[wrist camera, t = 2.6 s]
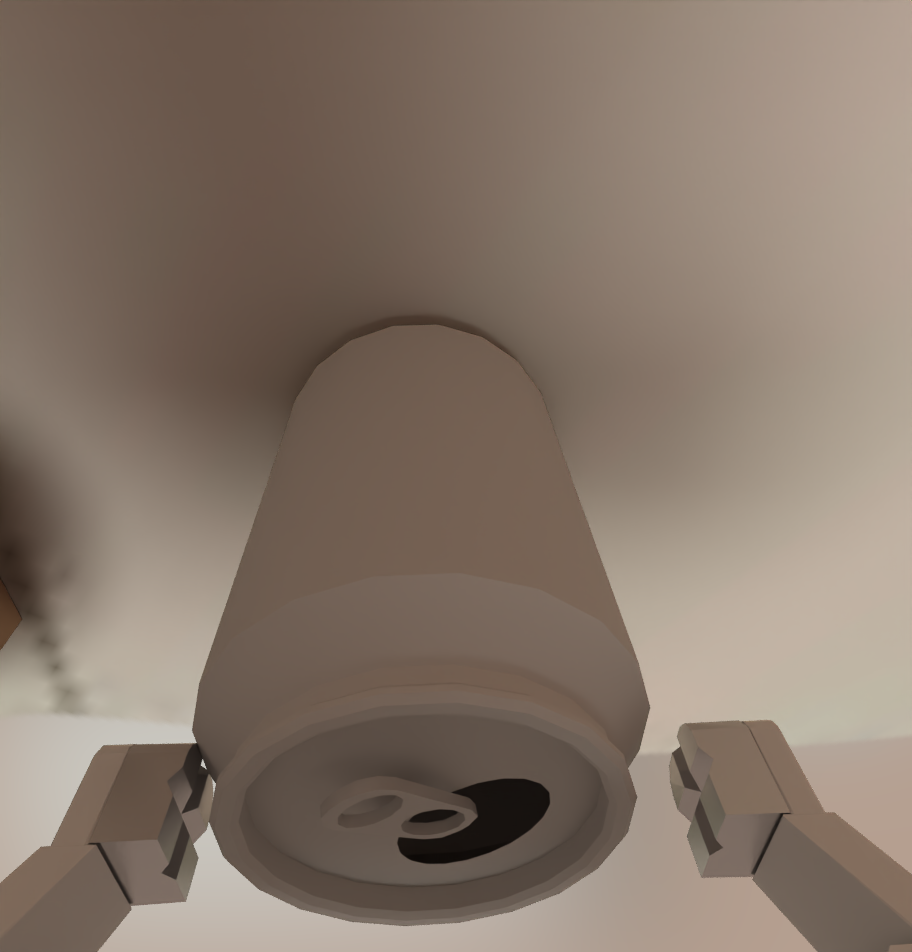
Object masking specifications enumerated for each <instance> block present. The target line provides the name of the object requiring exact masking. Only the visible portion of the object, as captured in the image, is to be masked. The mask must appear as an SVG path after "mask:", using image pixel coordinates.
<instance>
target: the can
mask: <svg viewBox="0 0 912 952" xmlns="http://www.w3.org/2000/svg"><path fill="white" fill-rule="evenodd" d="M649 710H650V705H649V701H648V698H647V694H646V690H645V686H644V682H643V678H642V675H641V671H640V667H639V663H638V660H637V658H636V655H635V652H634V649H633V646H632V644H631V641H630V638H629V635H628V633H627V630H626V627H625V624H624V622H623V619H622V616H621V613H620V611H619V608H618V605H617V602H616V600H615V597H614V594H613V591H612V589H611V586H610V583H609V580H608V578H607V575H606V572H605V569H604V566H603V564H602V561H601V558H600V555H599V553H598V550H597V547H596V544H595V542H594V539H593V536H592V533H591V531H590V528H589V525H588V522H587V520H586V517H585V514H584V511H583V509H582V506H581V503H580V500H579V497H578V495H577V492H576V489H575V486H574V484H573V481H572V478H571V475H570V473H569V470H568V467H567V464H566V462H565V459H564V456H563V453H562V451H561V448H560V445H559V442H558V440H557V437H556V434H555V431H554V429H553V426H552V423H551V420H550V417H549V415H548V412H547V409H546V406H545V404H544V401H543V398H542V395H541V393H540V391H539V390H538V388H537V387H536V386H535V384H534V383H533V382H532V380H531V379H530V377H529V376H528V375H527V373H526V372H525V371H524V369H523V368H522V367H521V365H520V364H519V363H518V361H517V360H515V359H514V358H512V357H511V356H509V355H508V354H506V353H505V352H503V351H502V350H501V349H499V348H498V347H496V346H495V345H493V344H492V343H490V342H489V341H487V340H486V339H484V338H483V337H480V336H477V335H473V334H470V333H466V332H463V331H459V330H456V329H452V328H449V327H445V326H442V325H403V326H391V327H388V328H385V329H382V330H379V331H376V332H373V333H370V334H367V335H365V336H362V337H359V338H356V339H353V340H350V341H349V342H348V343H346V344H345V345H344V346H342V347H341V348H340V349H338V350H337V351H336V352H335V353H333V354H332V355H331V356H329V357H328V358H327V359H325V360H324V361H323V362H322V363H320V364H319V365H318V366H317V367H316V368H315V370H314V371H313V373H312V374H311V376H310V377H309V379H308V381H307V382H306V384H305V385H304V387H303V388H302V390H301V392H300V393H299V395H298V396H297V398H296V399H295V402H294V405H293V408H292V411H291V414H290V417H289V420H288V423H287V426H286V429H285V432H284V435H283V438H282V441H281V444H280V447H279V450H278V453H277V456H276V459H275V461H274V464H273V467H272V470H271V473H270V476H269V479H268V482H267V485H266V488H265V491H264V494H263V497H262V500H261V503H260V506H259V509H258V512H257V515H256V518H255V521H254V523H253V526H252V529H251V532H250V535H249V538H248V541H247V544H246V547H245V550H244V553H243V556H242V559H241V562H240V565H239V568H238V571H237V574H236V577H235V580H234V583H233V585H232V588H231V591H230V594H229V597H228V600H227V603H226V606H225V609H224V612H223V615H222V618H221V621H220V624H219V627H218V630H217V633H216V636H215V639H214V642H213V645H212V648H211V650H210V653H209V656H208V659H207V662H206V665H205V668H204V671H203V674H202V677H201V680H200V683H199V689H198V695H197V702H196V708H195V715H194V722H193V728H192V731H193V734H194V737H195V739H196V742H197V745H198V747H199V750H200V752H201V755H202V758H203V760H204V763H205V766H206V768H207V771H208V773H209V775H210V776H211V777H212V779H213V780H214V781H215V783H216V787H215V792H214V797H213V802H212V807H211V812H210V817H209V823H210V825H211V827H212V830H213V832H214V835H215V837H216V840H217V842H218V845H219V847H220V850H221V852H222V855H223V856H224V858H225V859H227V861H228V862H229V863H230V864H231V865H232V866H234V867H235V868H236V869H237V870H238V871H239V872H240V873H241V874H242V875H243V876H245V877H246V878H247V879H248V880H249V881H250V882H251V883H252V884H253V885H255V886H256V887H257V888H258V889H259V890H261V891H264V892H266V893H268V894H270V895H272V896H274V897H276V898H278V899H280V900H282V901H285V902H287V903H289V904H291V905H293V906H295V907H297V908H299V909H302V910H306V911H310V912H314V913H318V914H322V915H326V916H330V917H334V918H338V919H342V920H346V921H351V922H362V923H374V924H386V925H399V926H412V925H413V926H414V925H430V924H445V923H460V922H465V921H470V920H475V919H479V918H484V917H489V916H494V915H498V914H503V913H508V912H513V911H515V910H517V909H520V908H523V907H525V906H528V905H531V904H533V903H536V902H538V901H541V900H544V899H546V898H549V897H551V896H554V895H556V894H559V893H561V892H562V891H564V890H565V889H567V888H568V887H570V886H572V885H573V884H575V883H576V882H578V881H579V880H581V879H582V878H584V877H585V876H587V875H588V874H590V873H592V872H593V871H595V870H596V869H598V868H599V866H600V865H601V864H602V863H603V861H604V860H605V859H606V858H607V857H608V856H609V854H610V853H611V852H612V851H613V850H614V849H615V847H616V846H617V845H618V844H619V843H620V841H621V840H622V839H623V838H624V837H625V835H626V834H627V832H628V829H629V826H630V822H631V818H632V814H633V810H634V807H635V803H636V799H637V795H636V792H635V789H634V786H633V782H632V779H631V776H630V773H629V770H628V767H629V766H630V764H631V763H632V761H633V759H634V758H635V756H636V755H637V753H638V751H639V750H640V746H641V742H642V738H643V734H644V730H645V726H646V722H647V718H648V714H649Z"/></svg>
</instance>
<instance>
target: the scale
mask: <svg viewBox="0 0 912 952" xmlns="http://www.w3.org/2000/svg"><path fill="white" fill-rule="evenodd" d="M21 620H22V619H21V617H20V615H19V613H18V611H17V609H16V607H15V605H14V603H13V601H12V600H11V598H10V596H9V594H8V592H7V590H6V588H5V586H4V584H3V583H2V581H1V579H0V650H1V649H2V648H3V646H4V645H5V643H6V642H7V640H8V639H9V637H10V636H11V634H12V633H13V632H14V630H15V629H16V627H17V626H18V624H19V623H20V621H21Z"/></svg>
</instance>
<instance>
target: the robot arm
mask: <svg viewBox="0 0 912 952" xmlns="http://www.w3.org/2000/svg"><path fill="white" fill-rule="evenodd" d="M677 738H678V741H679V744H680V747H679V748H678V749H677V750H675V751H674V752H673V753H672V756H671V761H670V765H669V770H670V783H671V788H672V792H673V796H674V800H675V803H676V806H677V809H678V810H679V811H680V812H681V813H682V814H683V815H684V816H685V817H686V818H687V819H688V820H690V822H691V825H690V828H689V832H688V834H687V838H688V841H689V844H690V847H691V850H692V852H693V855H694V858H695V861H696V864H697V867H698V869H699V872H700V875H701V877H702V878H703V877H704V878H705V877H753V881H754V882H755V883H756V884H757V885H758V886H759V887H760V889H761V890H762V891H763V892H764V893H765V894H766V895H767V896H768V897H769V898H770V900H771V901H772V902H773V903H774V904H775V905H776V906H777V907H778V908H779V910H780V911H781V912H782V913H783V914H784V915H785V916H786V917H787V918H788V919H789V921H790V922H791V923H792V924H793V925H794V926H795V927H796V928H797V929H798V931H799V932H800V933H801V934H802V935H803V936H804V937H805V938H806V939H807V940H808V942H809V943H810V944H811V945H812V946H813V947H814V948H815V949H816V950H817V951H818V952H912V874H911V873H909V872H908V871H907V870H905V869H904V868H903V867H902V866H901V865H899V864H898V863H897V862H896V861H894V860H893V859H892V858H891V857H889V856H888V855H887V854H886V853H884V852H883V851H882V850H881V849H879V848H878V847H877V846H876V845H874V844H873V843H872V842H871V841H869V840H868V839H867V838H866V837H864V836H863V835H862V834H861V833H859V832H858V831H857V830H856V829H854V828H853V827H852V826H851V825H849V824H848V823H847V822H846V821H844V820H843V819H842V818H841V817H839V816H838V815H837V814H836V813H833V812H832V813H831V812H830V813H829V812H828V813H827V812H825V811H824V809H823V807H822V806H821V804H820V802H819V800H818V798H817V797H816V795H815V793H814V791H813V789H812V787H811V785H810V784H809V782H808V780H807V778H806V776H805V775H804V773H803V771H802V769H801V767H800V765H799V764H798V762H797V760H796V758H795V756H794V754H793V753H792V751H791V749H790V747H789V745H788V743H787V742H786V740H785V738H784V736H783V734H782V732H781V731H780V729H779V727H778V726H777V725H776V724H775V723H774V722H773V721H771V720H756V721H739V720H738V721H720V722H702V723H684V724H683V725H682V726H681V727H680V728H679V731H678V735H677ZM202 759H203V758H202V755H201V752H200V750H199V747H198V745H197V743H178V744H128V745H104V746H102V747H101V749H100V750H99V751H98V752H97V753H96V754H95V755H94V757H93V759H92V761H91V763H90V766H89V767H88V769H87V772H86V774H85V776H84V778H83V780H82V782H81V784H80V786H79V788H78V790H77V792H76V794H75V796H74V798H73V801H72V803H71V805H70V807H69V809H68V811H67V813H66V815H65V817H64V819H63V821H62V823H61V826H60V827H59V830H58V832H57V834H56V836H55V838H54V840H53V842H52V844H51V846H46V847H40V848H39V849H38V850H37V851H36V852H35V853H33V854H32V855H31V856H30V857H29V858H28V859H27V860H26V861H25V862H23V863H22V864H21V865H20V866H19V867H18V868H17V869H15V870H14V871H13V872H12V873H11V874H10V875H9V876H8V877H6V878H5V879H4V880H3V881H2V882H1V883H0V952H97V951H98V950H99V949H100V947H102V945H103V944H104V943H105V942H106V940H107V939H108V938H109V937H110V935H111V934H112V933H113V932H114V930H115V929H116V928H117V927H118V926H119V924H120V923H121V922H122V921H123V919H124V918H125V917H126V916H127V914H128V913H129V912H130V911H131V906H135V905H148V904H161V903H173V902H186V899H187V896H188V892H189V889H190V885H191V882H192V879H193V875H194V872H195V868H196V865H197V861H198V856H197V853H196V850H195V848H194V845H193V844H194V843H195V842H196V840H197V839H198V838H199V837H200V836H201V835H202V834H203V833H204V832H205V831H206V830H207V826H208V822H209V817H210V812H211V807H212V801H213V784H212V778H211V776H210V775H209V773H208V771H207V769H205V768H204V767H202V766H200V765H201V762H202Z"/></svg>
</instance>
